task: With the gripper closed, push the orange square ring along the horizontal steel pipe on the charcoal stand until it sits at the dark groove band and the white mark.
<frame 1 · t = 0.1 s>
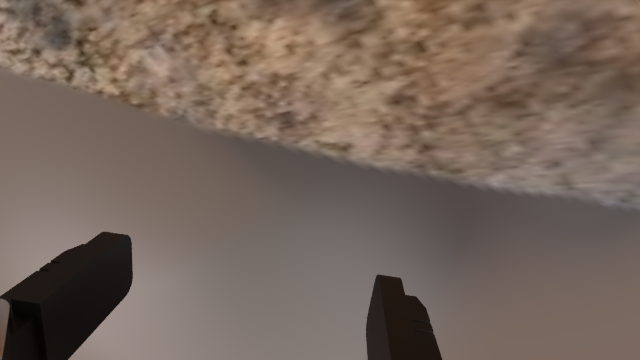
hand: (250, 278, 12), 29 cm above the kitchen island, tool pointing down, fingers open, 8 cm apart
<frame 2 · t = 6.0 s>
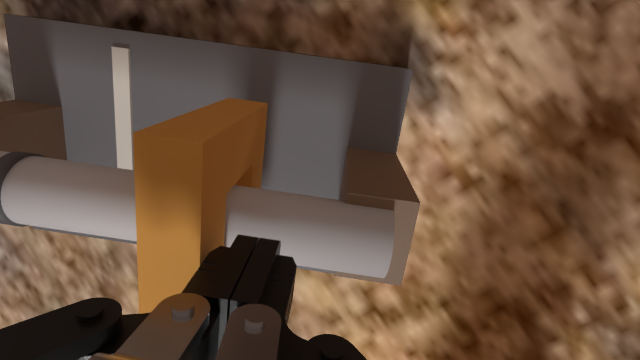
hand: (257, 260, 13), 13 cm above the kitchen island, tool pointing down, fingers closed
pipe stand: (213, 149, 26), on the kitchen island
orange square ring: (215, 217, 16), point 10 cm above the kitchen island, slide at 1.5 cm, touching gripper
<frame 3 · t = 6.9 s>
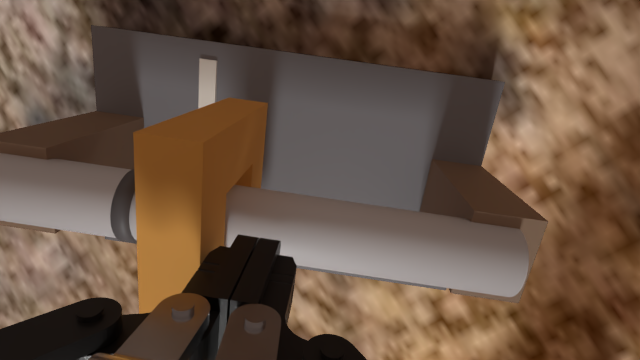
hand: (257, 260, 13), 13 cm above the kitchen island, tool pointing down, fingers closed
pipe stand: (288, 160, 26), on the kitchen island
orange square ring: (215, 217, 16), point 10 cm above the kitchen island, slide at 6.7 cm, touching gripper
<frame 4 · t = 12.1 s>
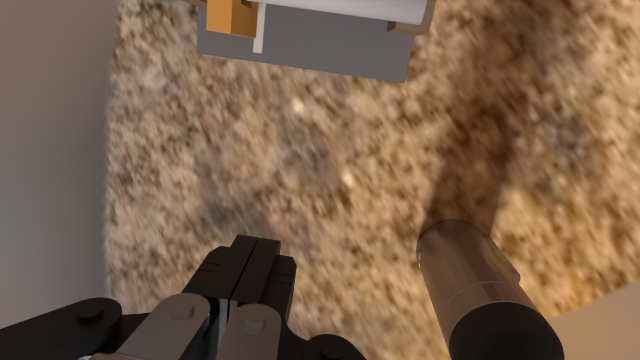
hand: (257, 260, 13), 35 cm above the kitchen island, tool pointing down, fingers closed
pipe stand: (309, 3, 42), on the kitchen island
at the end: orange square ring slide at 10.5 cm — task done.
